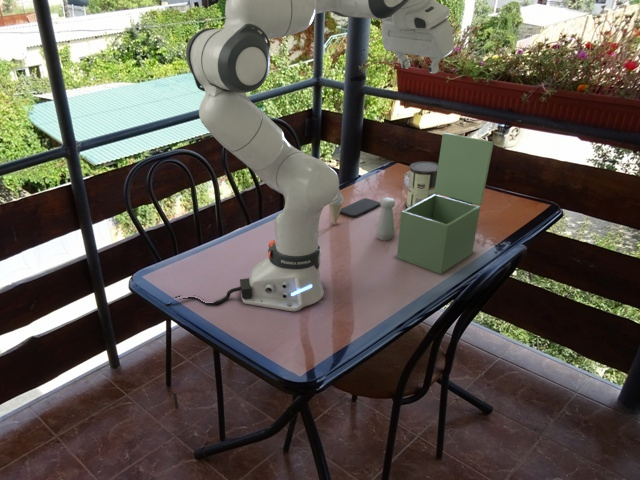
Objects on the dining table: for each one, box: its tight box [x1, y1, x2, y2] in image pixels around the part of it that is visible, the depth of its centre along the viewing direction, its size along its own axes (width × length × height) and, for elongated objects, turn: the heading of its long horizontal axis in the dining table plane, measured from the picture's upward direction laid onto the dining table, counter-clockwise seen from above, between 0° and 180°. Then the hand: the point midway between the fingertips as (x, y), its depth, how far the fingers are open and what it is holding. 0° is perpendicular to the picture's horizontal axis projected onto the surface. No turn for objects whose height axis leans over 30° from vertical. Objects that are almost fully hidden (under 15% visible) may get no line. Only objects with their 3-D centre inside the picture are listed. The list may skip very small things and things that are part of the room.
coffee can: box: [406, 161, 439, 208], centre depth 191 cm, size 10×10×14 cm
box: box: [396, 194, 481, 275], centre depth 160 cm, size 17×15×15 cm
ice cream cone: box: [328, 187, 344, 225], centre depth 183 cm, size 5×5×15 cm
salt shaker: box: [375, 197, 396, 241], centre depth 173 cm, size 6×6×13 cm
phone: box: [339, 197, 381, 218], centre depth 195 cm, size 7×1×15 cm
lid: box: [434, 132, 495, 206], centre depth 157 cm, size 18×15×5 cm
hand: (419, 69), depth 138 cm, fingers open, 8 cm apart
